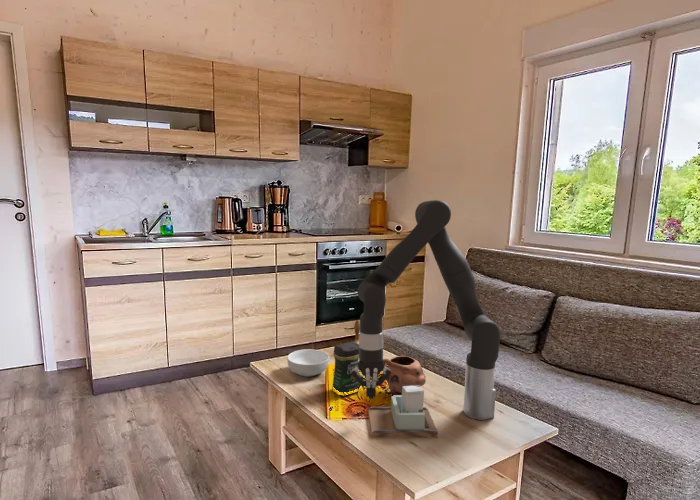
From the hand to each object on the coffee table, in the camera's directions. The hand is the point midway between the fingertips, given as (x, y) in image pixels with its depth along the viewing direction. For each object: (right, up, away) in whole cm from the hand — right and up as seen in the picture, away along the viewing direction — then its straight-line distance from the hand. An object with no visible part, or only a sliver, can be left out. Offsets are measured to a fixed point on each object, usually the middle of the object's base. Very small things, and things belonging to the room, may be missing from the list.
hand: (370, 397), depth 136 cm
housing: (+11, -7, +1) cm, 13 cm away
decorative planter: (+12, -7, +21) cm, 25 cm away
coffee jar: (-8, -6, +23) cm, 25 cm away
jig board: (+10, -9, +1) cm, 13 cm away
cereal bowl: (-24, -4, +39) cm, 46 cm away
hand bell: (-3, -1, +61) cm, 61 cm away
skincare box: (+13, -9, +1) cm, 16 cm away
